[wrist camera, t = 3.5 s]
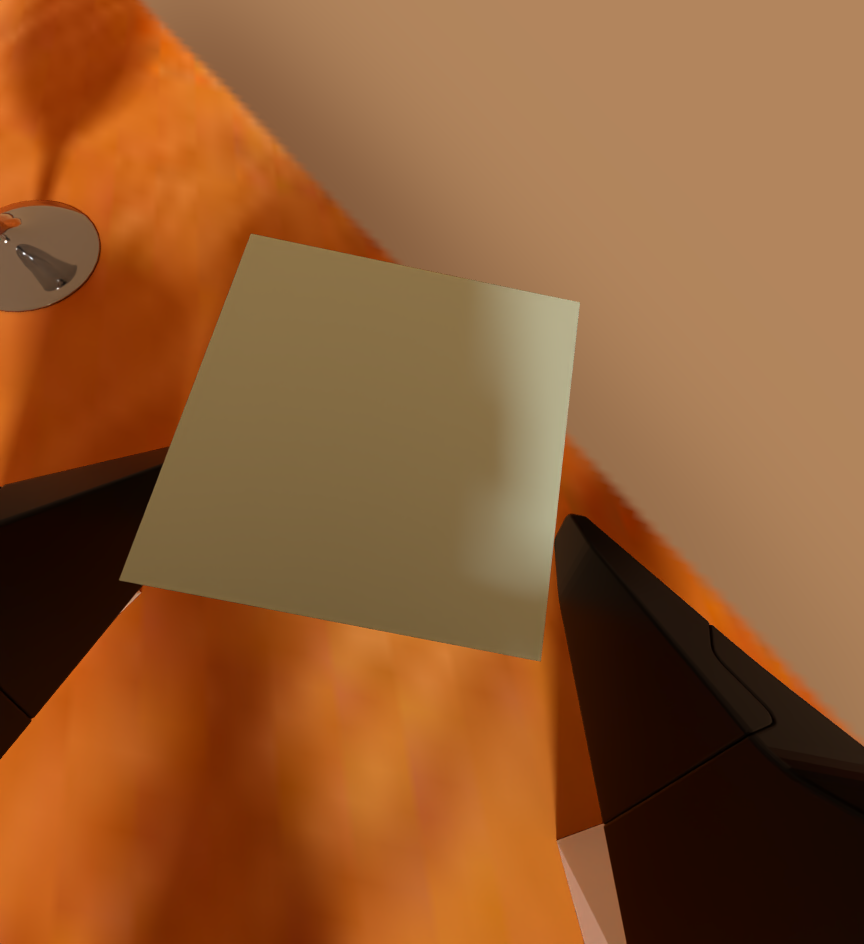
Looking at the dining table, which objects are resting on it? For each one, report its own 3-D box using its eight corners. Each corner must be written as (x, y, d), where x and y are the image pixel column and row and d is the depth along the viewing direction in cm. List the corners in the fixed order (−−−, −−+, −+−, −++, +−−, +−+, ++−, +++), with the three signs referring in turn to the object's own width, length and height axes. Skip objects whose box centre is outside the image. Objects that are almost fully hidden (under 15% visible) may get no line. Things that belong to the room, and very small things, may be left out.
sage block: (443, 576, 16) (540, 661, 4) (339, 556, 16) (117, 580, 4) (461, 474, 17) (579, 302, 5) (363, 455, 17) (251, 233, 5)
